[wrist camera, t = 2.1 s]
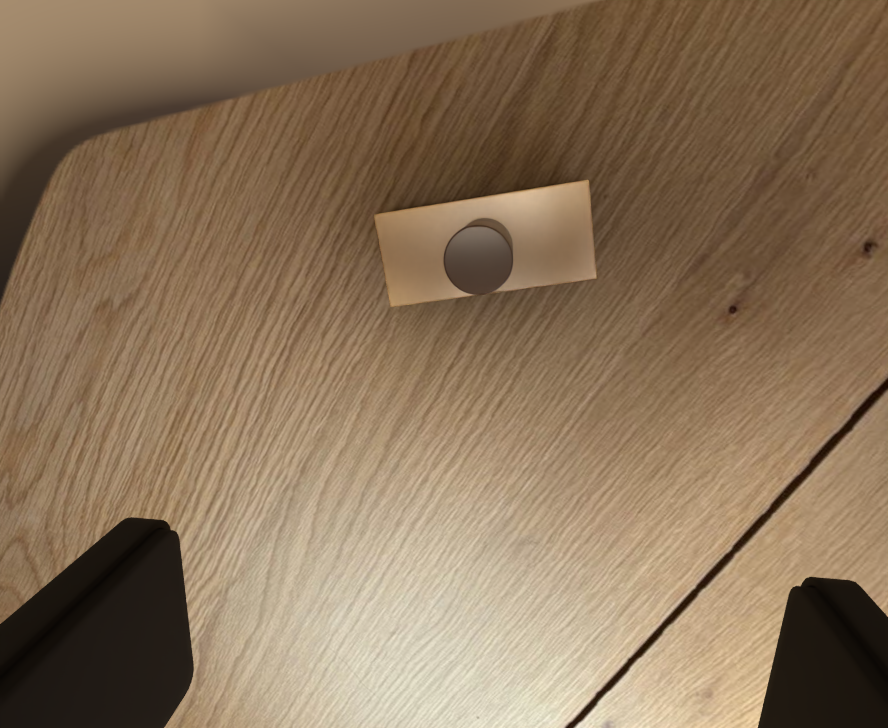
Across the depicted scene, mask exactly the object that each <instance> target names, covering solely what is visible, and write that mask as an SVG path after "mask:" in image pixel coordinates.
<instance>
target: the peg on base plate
mask: <svg viewBox="0 0 888 728" xmlns="http://www.w3.org/2000/svg"><path fill="white" fill-rule="evenodd" d="M374 219H375V225H376V230H377V236H378V241H379V247H380V252H381V258H382V263H383V269H384V274H385V279H386V285H387V290H388V296H389V301H390V306H391V307H396V306H404V305H411V304H418V303H425V302H433V301H440V300H447V299H454V298H462V297H469V296H476V295H485V294H491V293H498V292H505V291H513V290H520V289H527V288H535V287H542V286H549V285H556V284H564V283H571V282H578V281H585V280H593V279H597V268H596V256H595V245H594V233H593V222H592V210H591V199H590V187H589V180H582V181H576V182H569V183H563V184H557V185H551V186H545V187H539V188H532V189H526V190H520V191H514V192H508V193H502V194H495V195H489V196H483V197H477V198H471V199H465V200H458V201H452V202H446V203H440V204H434V205H428V206H422V207H415V208H409V209H403V210H397V211H391V212H385V213H378V214H374Z"/></svg>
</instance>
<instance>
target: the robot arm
mask: <svg viewBox="0 0 888 728" xmlns="http://www.w3.org/2000/svg"><path fill="white" fill-rule="evenodd" d="M193 670H194V667H193V656H192V647H191V638H190V630H189V621H188V612H187V603H186V594H185V585H184V576H183V568H182V559H181V550H180V541H179V536H178V534H177V532H175V531H173V530H170V526H169V525H168V523H167V522H166V521H164V520H155V519H144V518H132V517H131V518H126V519H124V520H123V521H121V522H120V523H119V524H118V525H116V526H115V527H114V528H113V529H112V530H111V531H109V532H108V533H107V534H106V535H105V536H104V537H102V538H101V539H100V540H99V541H98V542H96V543H95V544H94V545H93V546H92V547H91V548H89V549H88V550H87V551H86V552H85V553H84V554H82V555H81V556H80V557H79V558H78V559H77V560H75V561H74V562H73V563H72V564H71V565H69V566H68V567H67V568H66V569H65V570H64V571H62V572H61V573H60V574H59V575H58V576H57V577H55V578H54V579H53V580H52V581H51V582H49V583H48V584H47V585H46V586H45V587H44V588H42V589H41V590H40V591H39V592H38V593H37V594H35V595H34V596H33V597H32V598H31V599H29V600H28V601H27V602H26V603H25V604H24V605H22V606H21V607H20V608H19V609H18V610H17V611H15V612H14V613H13V614H12V615H11V616H10V617H8V618H7V619H6V620H5V621H4V622H2V623H1V624H0V728H164V727H165V726H166V724H167V722H168V721H169V719H170V718H171V716H172V715H173V713H174V712H175V710H176V708H177V707H178V705H179V704H180V702H181V701H182V699H183V698H184V696H185V694H186V693H187V691H188V689H189V686H190V684H191V681H192V677H193ZM758 728H888V617H887V616H886V615H885V613H884V612H883V611H882V610H881V609H880V608H879V607H878V606H877V605H876V603H875V602H874V601H873V600H872V599H871V598H870V597H869V596H868V594H867V593H866V592H865V591H864V590H863V589H862V588H861V587H860V586H859V585H858V584H857V583H856V582H853V581H850V580H840V579H829V578H817V577H809V578H806V579H805V580H804V581H803V583H802V585H801V586H795V587H793V588H792V589H791V591H790V593H789V597H788V601H787V605H786V609H785V614H784V618H783V622H782V627H781V631H780V635H779V639H778V644H777V648H776V652H775V657H774V661H773V665H772V669H771V674H770V678H769V682H768V687H767V691H766V695H765V699H764V704H763V708H762V712H761V717H760V721H759V725H758Z"/></svg>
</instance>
